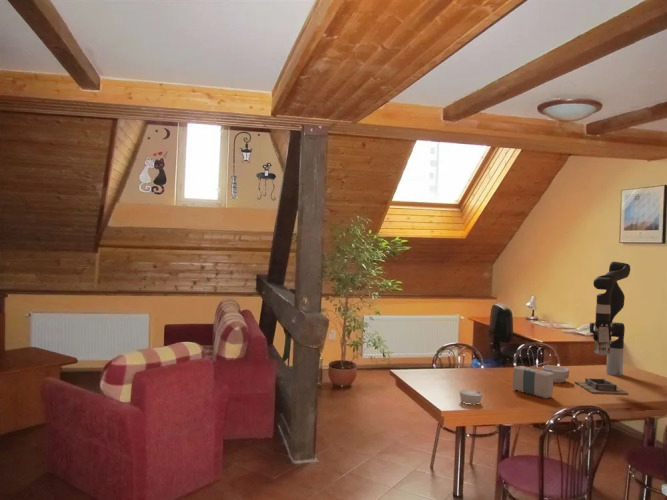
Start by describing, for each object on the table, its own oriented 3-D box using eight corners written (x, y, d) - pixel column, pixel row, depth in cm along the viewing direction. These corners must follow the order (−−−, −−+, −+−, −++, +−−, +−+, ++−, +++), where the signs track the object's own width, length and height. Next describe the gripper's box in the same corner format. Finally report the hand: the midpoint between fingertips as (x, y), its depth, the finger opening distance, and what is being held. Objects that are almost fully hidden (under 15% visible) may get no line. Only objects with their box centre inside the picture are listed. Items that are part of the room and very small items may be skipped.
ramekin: (485, 406, 268) (485, 395, 268) (463, 406, 268) (463, 395, 268) (477, 399, 280) (477, 389, 280) (456, 399, 279) (456, 389, 279)
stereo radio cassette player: (511, 390, 299) (512, 354, 299) (520, 388, 304) (521, 353, 304) (545, 400, 282) (547, 362, 282) (554, 397, 287) (555, 360, 287)
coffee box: (610, 355, 302) (611, 327, 302) (598, 354, 304) (598, 326, 303) (605, 352, 311) (606, 324, 311) (593, 351, 313) (594, 324, 312)
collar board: (574, 383, 319) (574, 376, 319) (608, 384, 319) (608, 377, 319) (591, 393, 297) (592, 386, 297) (628, 394, 297) (628, 387, 297)
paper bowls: (574, 383, 318) (574, 370, 318) (554, 385, 313) (554, 371, 313) (555, 377, 333) (556, 364, 333) (535, 378, 328) (536, 365, 327)
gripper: (612, 311, 311) (611, 340, 311) (587, 311, 311) (586, 339, 311) (619, 313, 303) (618, 342, 304) (593, 312, 304) (592, 341, 304)
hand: (602, 340), depth 307 cm, fingers closed on coffee box, 7 cm apart
